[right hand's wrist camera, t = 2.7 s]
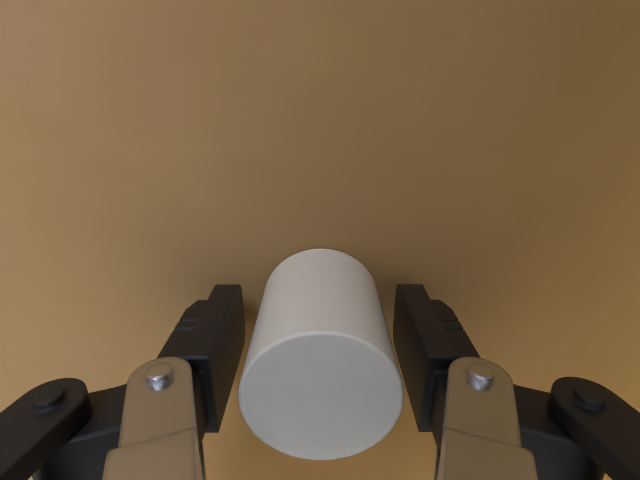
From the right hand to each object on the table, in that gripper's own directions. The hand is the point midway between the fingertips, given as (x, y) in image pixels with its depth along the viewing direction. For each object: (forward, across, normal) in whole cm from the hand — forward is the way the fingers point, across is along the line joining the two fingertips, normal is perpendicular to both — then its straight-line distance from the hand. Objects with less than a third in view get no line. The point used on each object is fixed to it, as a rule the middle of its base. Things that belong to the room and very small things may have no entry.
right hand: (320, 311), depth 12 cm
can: (+1, 0, 0) cm, 1 cm away
